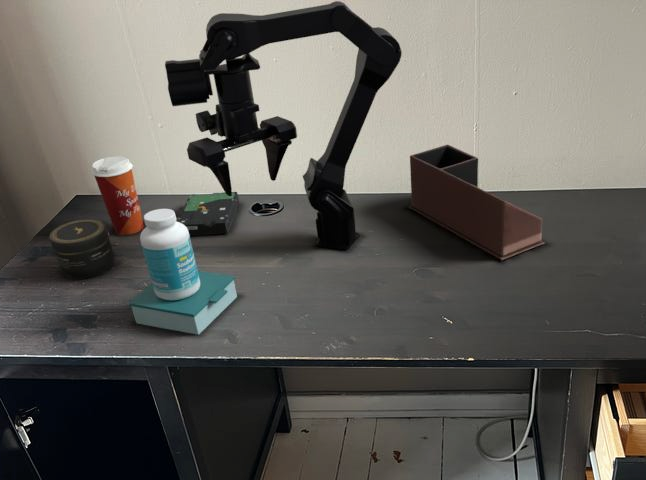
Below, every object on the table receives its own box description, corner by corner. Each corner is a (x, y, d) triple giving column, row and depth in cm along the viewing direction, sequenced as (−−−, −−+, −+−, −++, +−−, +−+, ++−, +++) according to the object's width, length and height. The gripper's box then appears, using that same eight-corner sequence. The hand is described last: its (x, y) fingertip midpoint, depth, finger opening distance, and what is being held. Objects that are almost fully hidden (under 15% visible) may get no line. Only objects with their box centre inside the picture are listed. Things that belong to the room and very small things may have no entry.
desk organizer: (448, 194, 156) (448, 142, 149) (545, 244, 136) (549, 186, 129) (408, 208, 151) (405, 155, 144) (501, 262, 131) (503, 203, 124)
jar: (95, 250, 142) (84, 214, 138) (128, 263, 138) (117, 225, 133) (50, 272, 136) (36, 235, 131) (83, 286, 131) (69, 248, 127)
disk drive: (229, 234, 145) (239, 202, 157) (227, 222, 144) (237, 190, 156) (177, 238, 145) (191, 205, 157) (174, 225, 144) (188, 193, 156)
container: (244, 297, 125) (240, 277, 123) (205, 337, 116) (200, 315, 114) (177, 286, 130) (172, 266, 127) (134, 323, 120) (128, 303, 118)
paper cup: (137, 238, 146) (118, 170, 138) (102, 236, 147) (81, 169, 139) (155, 220, 152) (138, 155, 144) (122, 219, 153) (102, 154, 145)
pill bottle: (194, 302, 117) (174, 225, 109) (149, 302, 118) (126, 225, 110) (206, 278, 123) (189, 204, 115) (164, 279, 124) (143, 204, 116)
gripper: (257, 77, 131) (270, 161, 140) (161, 102, 122) (182, 191, 131) (292, 89, 124) (304, 176, 134) (195, 116, 115) (214, 209, 124)
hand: (251, 187), depth 131 cm, fingers open, 9 cm apart
